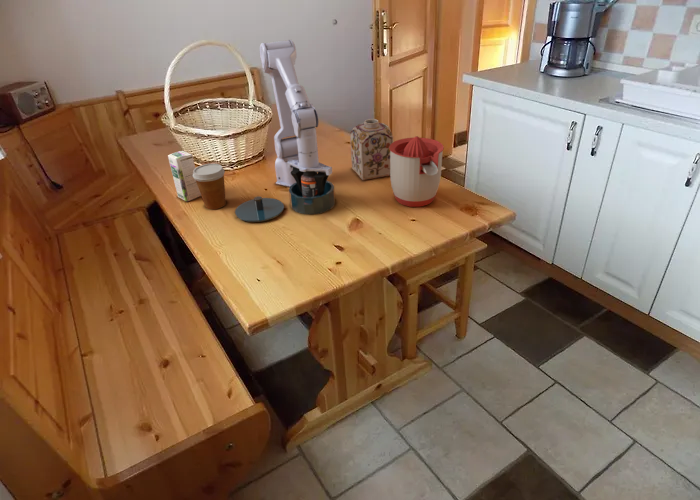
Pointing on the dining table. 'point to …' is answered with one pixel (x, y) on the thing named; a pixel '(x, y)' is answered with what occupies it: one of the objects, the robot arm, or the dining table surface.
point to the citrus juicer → (415, 170)
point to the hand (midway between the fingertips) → (311, 192)
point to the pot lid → (259, 209)
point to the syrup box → (184, 175)
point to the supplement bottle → (309, 184)
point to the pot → (312, 200)
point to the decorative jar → (371, 149)
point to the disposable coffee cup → (211, 184)
